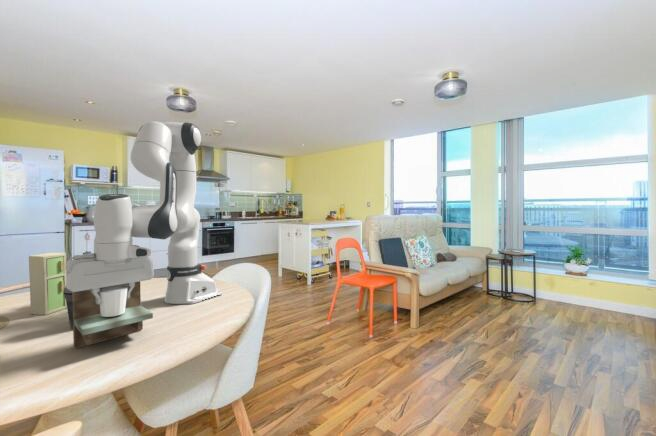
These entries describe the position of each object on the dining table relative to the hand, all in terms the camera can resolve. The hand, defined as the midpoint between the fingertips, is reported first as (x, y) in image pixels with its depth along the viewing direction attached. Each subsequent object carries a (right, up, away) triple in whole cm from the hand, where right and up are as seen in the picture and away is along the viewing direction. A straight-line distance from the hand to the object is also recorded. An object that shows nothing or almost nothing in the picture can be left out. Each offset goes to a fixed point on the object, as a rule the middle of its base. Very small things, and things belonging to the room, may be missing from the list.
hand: (113, 300), depth 86 cm
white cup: (0, -4, 0) cm, 4 cm away
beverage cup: (-19, -12, +12) cm, 26 cm away
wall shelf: (0, -12, +1) cm, 12 cm away
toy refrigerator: (-42, -11, +26) cm, 50 cm away
